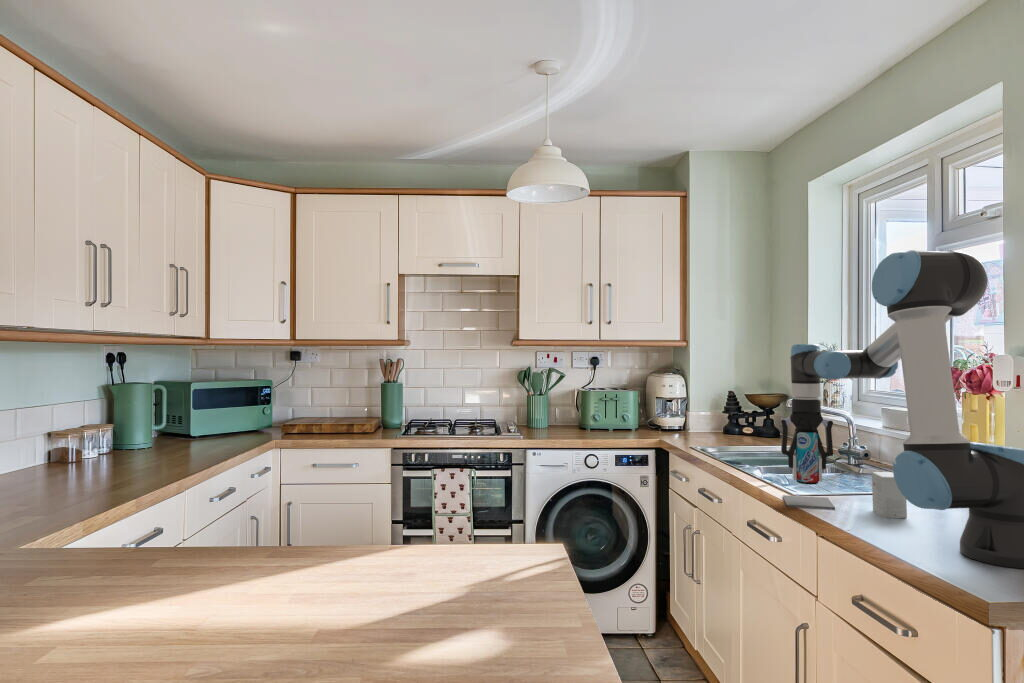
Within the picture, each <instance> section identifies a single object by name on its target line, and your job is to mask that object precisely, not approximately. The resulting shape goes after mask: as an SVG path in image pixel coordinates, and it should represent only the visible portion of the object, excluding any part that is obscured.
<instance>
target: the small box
mask: <svg viewBox="0 0 1024 683" xmlns="http://www.w3.org/2000/svg"><path fill="white" fill-rule="evenodd" d="M871 485H872V486H871V489H872V491H871V492H872V511H874V512H875V513H876V514H878V515H879V514H880V516H881V517H882V516H883V517H882V518H884V517H888V518H890V519H891V518H894V519H907V518H908V508H907V507H908V506H907V505H908V504H907V499H906V498H905V496H903V495H902V494H901V492H900V490H899V489H898V487H897V485H896V482H895V479H894V475H893V471H892V472H891V471H871Z"/></svg>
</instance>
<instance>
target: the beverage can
mask: <svg viewBox="0 0 1024 683" xmlns="http://www.w3.org/2000/svg"><path fill="white" fill-rule="evenodd" d="M795 431H796V428H795V429H794V432H795ZM798 432H799V433H798V434H797V446H796V449H795V452H794V453H795V456H796V476H797V480H795V481H796V482H797V483H799V484H802V485H817V484H819V463H818V458H819V457H820V453H819V450H818V434H817V433H816V432H817V431H800V430H798Z"/></svg>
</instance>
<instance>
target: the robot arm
mask: <svg viewBox="0 0 1024 683" xmlns="http://www.w3.org/2000/svg"><path fill="white" fill-rule="evenodd" d="M988 280H989V278H988V272H987V270H986V267H985V265H984V264H982V262H981V261H980V260H979V259H978V258H977V257H975V256H973V255H971V254H969V253H966V252H964V251H957V250H956V251H955V250H952V251H951V250H949V251H942V250H941V251H935V250H934V251H933V250H932V251H930V250H928V251H927V250H915V249H913V250H911V249H910V250H907V251H906V250H905V251H895V252H891V253H890V254H888V255H886V256H885V257H883V258H882V260H881V261H880V262H879V263H878V265H877V267H876V268H875V271H874V273H873V276H872V280H871V292H872V297H873V299H874V300H875V301H876V302H877V304H879V305H881V306H882V307H886V312H887V313H886V314H887V317H888V318H889V319H890V320H892V321H893V322H894V323H892V324H891V325H890V326H889V327H888V328H887V329H885V331H884V332H882V333H881V334H880V335H879V336H878V337H877V338H876V339H875V340H873V341H872V342H871V343H870V344H869V345H867V347H865V349H862V350H821V349H820V345H819V344H817V343H801V344H800V343H795V344H793V345H792V346H791V348H790V378H791V379H790V381H791V382H790V383H791V385H790V386H791V397H792V399H791V413H790V416H789V417H787V418H780V424H781V428H782V429H781V430H782V431H781V448H780V449H781V450H780V451H781V453H782V454H783V455H784V456H785V455H786V456H787V462H788V463H787V466H788V467H789V468H790V469H791V470H792V471H791V472H792V480H793V481H796V480H797V476H796V455H795V453H796V452H795V449H796V446H797V434H798V433H799V432H798V430H800V431H817V432H816V433H817V434H818V453H819V458H818V463H819V482H820V483H822V482H823V470H826V469H827V458H828V457H833V456H834V449H833V448H834V447H833V433H832V428H833V425H834V422H833V421H832V420H831V419H826V418H823V416H822V406H821V405H822V402H821V399H819V398H820V397H821V395H822V394H821V379H824V380H825V379H826V380H829V381H831V380H841V379H843V380H845V379H876V380H878V379H879V380H880V379H882V378H883V379H884V378H891V377H892V376H894V375H895V374H896V371H897V369H898V367H899V361H900V360H901V367H902V375H903V376H902V377H903V385H904V393H905V400H906V401H905V402H906V408H907V416H908V418H907V419H908V424H909V433H910V434H909V436H908V437H907V438H906V439H905V440H904V441H903V442H902V444H903V445H902V446H903V451H902V452H900V453H899V454H897V455H896V457H895V458H894V462H893V465H892V472H893V475H894V479H895V482H896V485H897V487H898V489H899V490H900V492H901V494H902V495H903V496H905V498H906V501H907V502H908V503H910V504H912V505H914V507H917V508H920V509H924V510H939V511H946V510H949V509H951V510H953V509H968V518H967V520H966V523H965V525H964V528H963V531H962V533H961V535H960V537H959V538H960V539H959V552H960V553H961V554H962V555H964V556H966V557H968V558H970V559H971V560H975V561H978V562H981V563H982V562H983V563H985V564H990V565H994V566H1000V567H1005V568H1006V567H1007V568H1015V569H1024V448H1019V447H1014V446H1007V445H999V444H992V443H985V442H975V441H970V440H969V439H967V438H966V437H965V436H964V435H962V434H961V432H960V425H959V419H958V412H957V404H956V398H955V397H956V396H955V390H954V380H953V374H952V367H951V359H950V352H949V344H948V336H947V328H946V323H947V322H949V321H950V320H951V319H952V318H953V317H956V318H957V317H961V316H964V315H965V314H966V313H968V312H969V311H970V310H972V309H973V308H974V307H975V306H976V305H977V304H978V303H979V302H980V301H981V299H982V298H983V296H984V295H985V293H986V290H987V289H988V288H987V287H988V284H989V281H988ZM791 423H792V424H793V426H794V427H795V429H796V431H795V430H794V433H793V436H792V439H791V442H790V445H789V449H788V430H789V429H788V428H789V426H790V424H791ZM822 423H823V424H822ZM821 424H822V425H823V427H825V429H824V430H825V431H824V432H825V443H826V451H825V448H824V446H823V442H822V440H821V437H820V434H819V430H818V428H819V426H820V425H821ZM787 449H788V450H787ZM819 482H818V483H819Z"/></svg>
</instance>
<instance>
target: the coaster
mask: <svg viewBox="0 0 1024 683" xmlns="http://www.w3.org/2000/svg"><path fill="white" fill-rule="evenodd" d="M782 498H783V500H784V503H785V505H786V508H804V509H819V510H821V509H822V510H836V507H835V505H834V504H833V503H832V502H831V500H830V499H829V498H828V497H826V496H825V497H821V496H803V495H788V494H786V495H785V494H782Z"/></svg>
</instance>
